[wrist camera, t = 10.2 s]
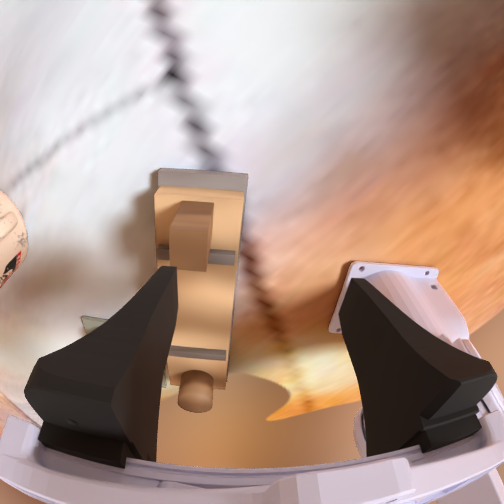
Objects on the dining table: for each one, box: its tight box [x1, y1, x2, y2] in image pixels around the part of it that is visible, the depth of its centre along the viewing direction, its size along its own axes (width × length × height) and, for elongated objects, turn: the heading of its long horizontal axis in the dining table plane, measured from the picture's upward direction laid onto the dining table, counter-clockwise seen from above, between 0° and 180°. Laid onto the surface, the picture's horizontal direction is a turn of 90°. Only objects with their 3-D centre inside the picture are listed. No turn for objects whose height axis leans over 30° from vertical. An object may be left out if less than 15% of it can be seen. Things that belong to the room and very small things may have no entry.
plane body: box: [154, 168, 248, 413], centre depth 23 cm, size 22×6×6 cm, turn 174°
